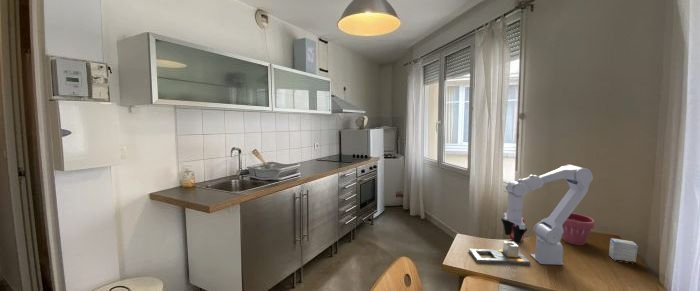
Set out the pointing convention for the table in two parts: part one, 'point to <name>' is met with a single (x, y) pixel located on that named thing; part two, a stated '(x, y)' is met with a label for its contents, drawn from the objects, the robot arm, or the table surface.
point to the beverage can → (512, 232)
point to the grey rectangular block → (510, 250)
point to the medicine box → (623, 250)
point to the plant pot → (577, 229)
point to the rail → (497, 257)
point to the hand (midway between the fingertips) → (512, 238)
